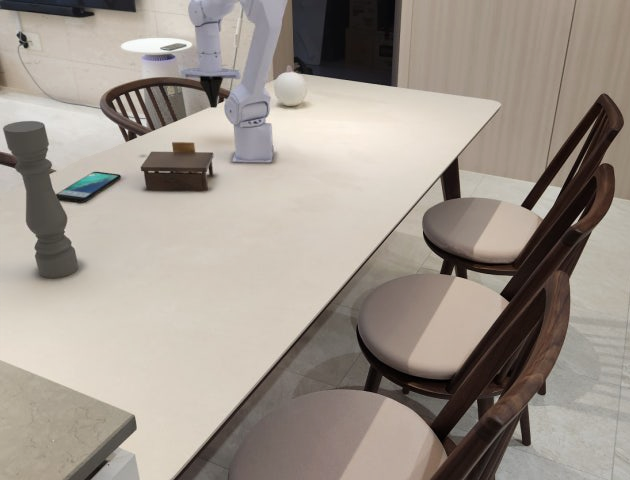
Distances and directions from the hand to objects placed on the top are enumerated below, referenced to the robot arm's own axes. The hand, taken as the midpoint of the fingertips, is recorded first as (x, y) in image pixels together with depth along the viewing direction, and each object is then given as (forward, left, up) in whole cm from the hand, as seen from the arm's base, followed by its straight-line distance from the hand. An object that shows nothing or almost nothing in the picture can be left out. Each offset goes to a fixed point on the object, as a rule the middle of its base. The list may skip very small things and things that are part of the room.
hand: (214, 106), depth 165 cm
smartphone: (+23, +33, -9) cm, 41 cm away
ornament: (-18, -37, -10) cm, 42 cm away
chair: (+4, +25, -9) cm, 27 cm away
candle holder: (+17, +69, -10) cm, 72 cm away
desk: (+4, +29, -9) cm, 31 cm away
